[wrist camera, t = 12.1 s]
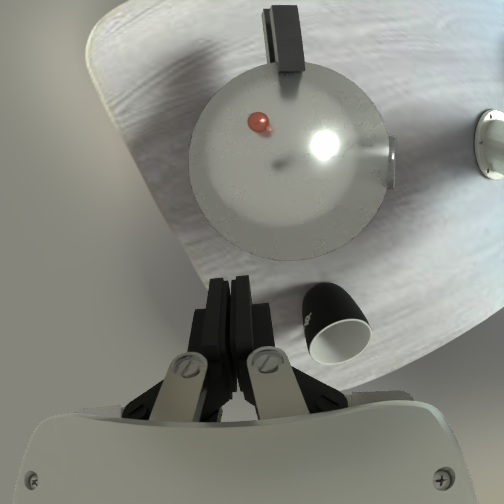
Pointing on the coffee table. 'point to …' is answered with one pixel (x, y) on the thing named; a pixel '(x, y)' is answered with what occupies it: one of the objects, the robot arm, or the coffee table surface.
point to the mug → (333, 325)
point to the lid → (290, 154)
